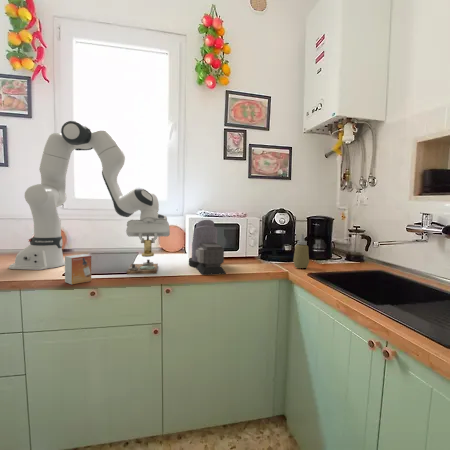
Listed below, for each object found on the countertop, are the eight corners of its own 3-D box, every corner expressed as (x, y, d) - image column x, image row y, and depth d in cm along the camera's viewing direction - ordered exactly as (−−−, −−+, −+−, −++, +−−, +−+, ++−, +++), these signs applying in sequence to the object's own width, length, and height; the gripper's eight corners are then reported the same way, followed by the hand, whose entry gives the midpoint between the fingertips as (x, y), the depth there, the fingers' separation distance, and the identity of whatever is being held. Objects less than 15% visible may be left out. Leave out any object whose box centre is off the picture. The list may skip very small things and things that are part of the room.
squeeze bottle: (311, 268, 149) (313, 234, 148) (304, 270, 144) (306, 235, 142) (297, 265, 155) (299, 233, 154) (290, 267, 149) (291, 234, 148)
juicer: (185, 261, 156) (186, 217, 154) (213, 260, 161) (215, 218, 159) (197, 275, 128) (198, 221, 126) (230, 274, 133) (232, 222, 131)
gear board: (126, 274, 126) (126, 265, 126) (131, 266, 141) (131, 258, 141) (156, 273, 129) (156, 265, 129) (157, 266, 144) (157, 258, 143)
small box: (71, 285, 108) (71, 258, 107) (64, 282, 111) (64, 255, 110) (91, 281, 114) (91, 255, 113) (85, 278, 118) (84, 253, 117)
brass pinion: (141, 256, 130) (141, 235, 129) (142, 254, 135) (142, 233, 135) (153, 256, 131) (153, 235, 130) (154, 254, 137) (154, 233, 136)
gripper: (126, 215, 137) (123, 238, 128) (169, 216, 141) (169, 238, 132) (128, 224, 141) (125, 246, 133) (169, 224, 145) (169, 246, 137)
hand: (147, 242), depth 132 cm, fingers closed on brass pinion, 3 cm apart
